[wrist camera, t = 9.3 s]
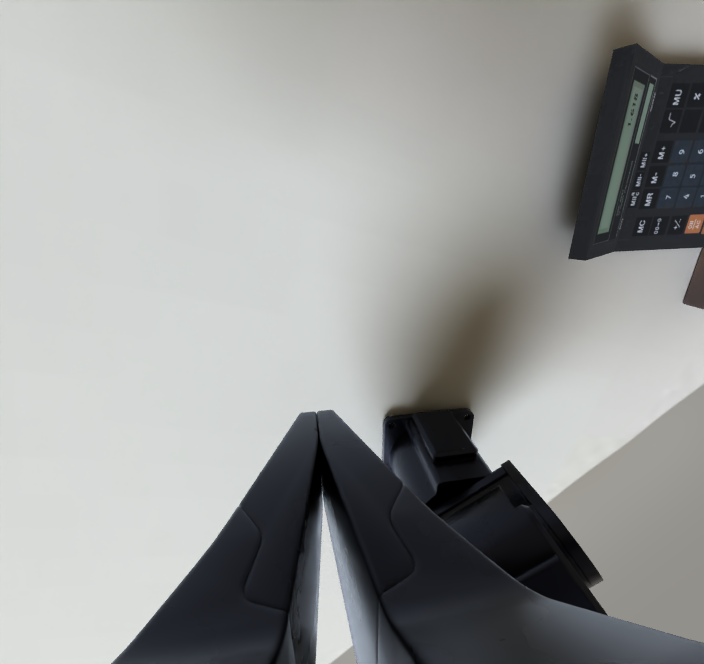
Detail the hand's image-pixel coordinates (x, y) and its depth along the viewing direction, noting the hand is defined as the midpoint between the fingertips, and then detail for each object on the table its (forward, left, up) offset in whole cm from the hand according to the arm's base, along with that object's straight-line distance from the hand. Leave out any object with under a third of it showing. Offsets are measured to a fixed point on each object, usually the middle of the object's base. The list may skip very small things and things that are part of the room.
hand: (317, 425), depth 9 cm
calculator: (+7, -20, -12) cm, 25 cm away
